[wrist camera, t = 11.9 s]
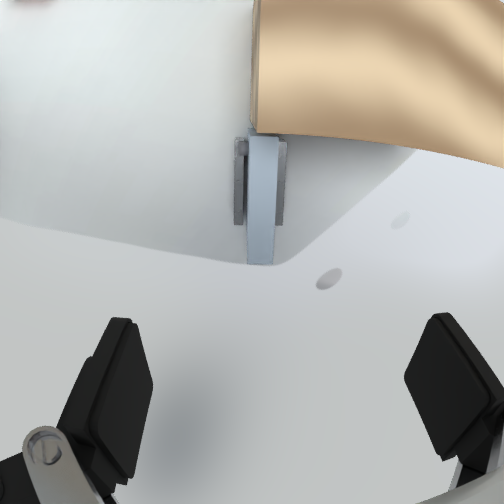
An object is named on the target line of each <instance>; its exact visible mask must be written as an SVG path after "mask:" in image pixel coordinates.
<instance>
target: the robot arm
mask: <svg viewBox="0 0 504 504" xmlns="http://www.w3.org/2000/svg"><path fill="white" fill-rule="evenodd" d="M404 381H405V383H406V385H407V387H408V390H409V392H410V394H411V396H412V398H413V401H414V402H415V405H416V407H417V409H418V411H419V414H420V416H421V418H422V421H423V423H424V425H425V428H426V430H427V432H428V435H429V437H430V440H431V442H432V444H433V447H434V449H435V452H436V453H437V454H438V455H440V456H441V459H442V461H445V460H448V459H450V458H453V457H455V456H456V455H457V456H458V458H459V460H458V463H457V467H456V470H455V473H454V476H453V479H452V481H451V484H450V487H449V490H448V492H446V493H444V494H441V495H439V496H436V497H433V498H431V499H428V500H425V501H423V502H420V503H417V504H504V387H503V386H502V384H501V383H500V381H499V380H498V378H497V377H496V375H495V374H494V372H493V371H492V369H491V368H490V367H489V365H488V364H487V362H486V361H485V359H484V358H483V356H482V355H481V354H480V352H479V351H478V349H477V348H476V347H475V345H474V344H473V343H472V341H471V340H470V339H469V337H468V336H467V334H466V333H465V332H464V330H463V329H462V328H461V327H460V325H459V324H458V323H457V321H456V320H455V319H454V318H453V316H452V315H451V314H450V313H448V312H447V313H437V314H434V315H433V316H432V317H431V319H429V320H428V322H427V324H426V327H425V329H424V331H423V334H422V336H421V338H420V341H419V343H418V345H417V347H416V350H415V352H414V354H413V356H412V358H411V361H410V363H409V365H408V367H407V369H406V371H405V374H404ZM152 391H153V381H152V377H151V374H150V371H149V367H148V363H147V360H146V356H145V352H144V349H143V345H142V341H141V337H140V333H139V329H138V326H137V324H135V323H132V320H131V319H129V318H117V317H113V318H111V320H110V321H109V324H108V326H107V328H106V330H105V331H104V333H103V336H102V337H101V340H100V342H99V344H98V346H97V348H96V350H95V352H94V354H93V356H92V357H91V356H90V357H89V358H87V359H86V361H85V363H84V365H83V367H82V369H81V371H80V373H79V375H78V378H77V380H76V382H75V384H74V386H73V389H72V391H71V393H70V396H69V398H68V400H67V403H66V405H65V407H64V409H63V412H62V414H61V417H60V419H59V422H58V424H57V426H56V428H54V427H51V426H42V427H37V428H36V429H34V430H32V431H31V432H30V433H29V434H28V435H27V436H26V438H25V440H24V442H23V447H22V451H23V452H21V453H18V454H16V455H14V456H12V457H9V458H7V459H5V460H3V461H0V504H119V502H118V501H117V499H116V498H115V496H114V494H113V493H114V492H115V487H116V483H117V484H122V485H127V482H128V478H130V479H132V478H133V476H134V473H135V469H136V463H137V459H138V454H139V449H140V444H141V439H142V435H143V430H144V426H145V421H146V417H147V412H148V408H149V404H150V400H151V396H152Z"/></svg>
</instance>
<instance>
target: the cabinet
mask: <svg viewBox="0 0 504 504" xmlns="http://www.w3.org/2000/svg"><path fill="white" fill-rule="evenodd" d="M250 121H251V123H252V124H253V126H254V128H255V130H256V132H257V133H278V134H297V135H311V136H324V137H335V138H345V139H354V140H362V141H370V142H378V143H385V144H392V145H398V146H404V147H410V148H416V149H422V150H428V151H433V152H437V153H443V154H448V155H452V156H456V157H461V158H466V159H470V160H474V161H478V162H482V163H486V164H490V165H493V166H497V167H501V168H504V3H503V2H501V1H499V0H254V5H253V31H252V66H251V103H250Z"/></svg>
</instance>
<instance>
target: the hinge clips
mask: <svg viewBox="0 0 504 504" xmlns="http://www.w3.org/2000/svg"><path fill="white" fill-rule="evenodd" d="M239 142H244V138H236V139H235V178H234V225H243V170H244V156H239ZM286 154H287V142H286V141H285V140H284V139H279V149H278V171H277V192H276V212H275V225H280V226H282V222H283V207H284V190H285V173H286Z"/></svg>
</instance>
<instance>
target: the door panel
mask: <svg viewBox="0 0 504 504" xmlns="http://www.w3.org/2000/svg"><path fill="white" fill-rule="evenodd" d="M278 149H279V137H278V136H277V135H276V134H275V133H257V132H256V130H255V128H248V142H239V156H248V158H247V211H246V231H247V264H273V248H274V230H275V212H276V192H277V171H278Z"/></svg>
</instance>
